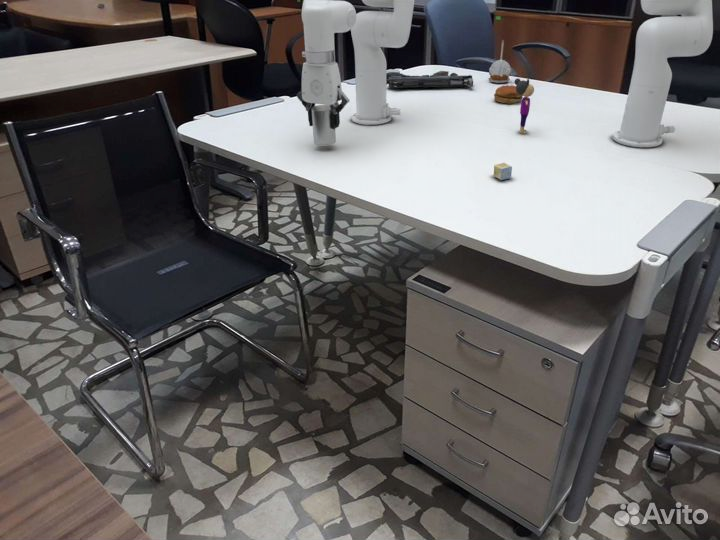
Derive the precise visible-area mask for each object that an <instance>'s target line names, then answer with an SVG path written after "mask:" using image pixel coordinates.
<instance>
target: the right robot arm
mask: <svg viewBox="0 0 720 540" xmlns="http://www.w3.org/2000/svg"><path fill="white" fill-rule="evenodd" d="M640 6H641V10H642V11H643V12H644V14H647V15H649V16H658V17H653V18H649V19H647V20H645V21H643V22H642V24H641V25H639V27H638V29H637V31H636V36H635V50H634V51H635V54H634V61H633V62H634V63H633V68H632V74H631V79H630V84H629V89H628V93H627V98H626V101H625V102H626V103H625V107H624V112H623V116H622V121H621V126H620V130H617V131H615V132H614V133H613V134H612V139H613V141H615V142H616V143H618V144H621V145H624V146H626V147H633V148H655V147H659V146H661V145H662V144H663V141H664V140H663V137H662V135H664V134H673V133H674V132H675V131H676V128H675V126H674V125H666V126H665V125H664V123H663V124H662V119H663V115H664V111H665V108H666V104H667V99H668V96H669V91H670V87H671V83H672V79H673V72H672V69H671V66H670V64H669V62H668V59H669V58H680V57H681V58H682V57H696V56H701V55H702V54H704V53H705V52H706V51H707V50H708V49H709V47H710V46H711V43H712V41H713V35H714V19H713V18H714V17H713V0H640ZM671 15H672V16H671ZM676 15H679V16H676Z"/></svg>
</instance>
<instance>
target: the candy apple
mask: <svg viewBox="0 0 720 540" xmlns="http://www.w3.org/2000/svg"><path fill="white" fill-rule="evenodd" d="M504 44H505V40H504V39H502V40H501V48H500V56H499V57H500V58H499V59H498V60H496V61H494V62H493V63H492V64H491V65H490V67H489V69H488V71H489V72H488V75H489V77H488V79H487V80H488V81H489V82H491V83H497V84H504V83H507V82H510V81H511V79H510V75H511V73H512V68H511V65H510V64H509V62H508V61H506V60H505V59H503V56H504V55H503V54H504V47H505V46H504Z"/></svg>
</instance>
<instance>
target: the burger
mask: <svg viewBox="0 0 720 540" xmlns="http://www.w3.org/2000/svg"><path fill="white" fill-rule="evenodd" d="M494 92H495V93H493V97H494V100H495V102H498V103H502V104H508V105H509V104H510V105H512V104H516V103H518V102H520V101H522V99H523V97H524V96H523V95H520V94H518V93H517V92H516V85H514V84H511V85H509V84H508V85H501V86H499V87H497V88H496V89H495V91H494Z"/></svg>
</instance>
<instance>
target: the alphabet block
mask: <svg viewBox="0 0 720 540" xmlns="http://www.w3.org/2000/svg"><path fill="white" fill-rule="evenodd" d="M512 172H513V166H512V165H510V164H507V163H505V162H502V163H501V162H500V163H497V164H494V165H493V178H494V177H495V178H496V179H498V180H500V181H504V180H508V179H511V178H512Z"/></svg>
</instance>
